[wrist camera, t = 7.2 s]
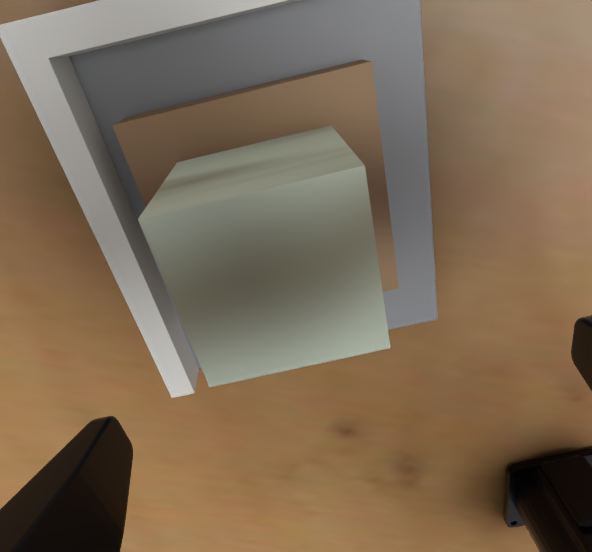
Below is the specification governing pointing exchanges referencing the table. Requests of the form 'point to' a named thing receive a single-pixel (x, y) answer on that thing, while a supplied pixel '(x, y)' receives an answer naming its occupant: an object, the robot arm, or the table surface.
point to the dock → (209, 82)
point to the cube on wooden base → (270, 220)
